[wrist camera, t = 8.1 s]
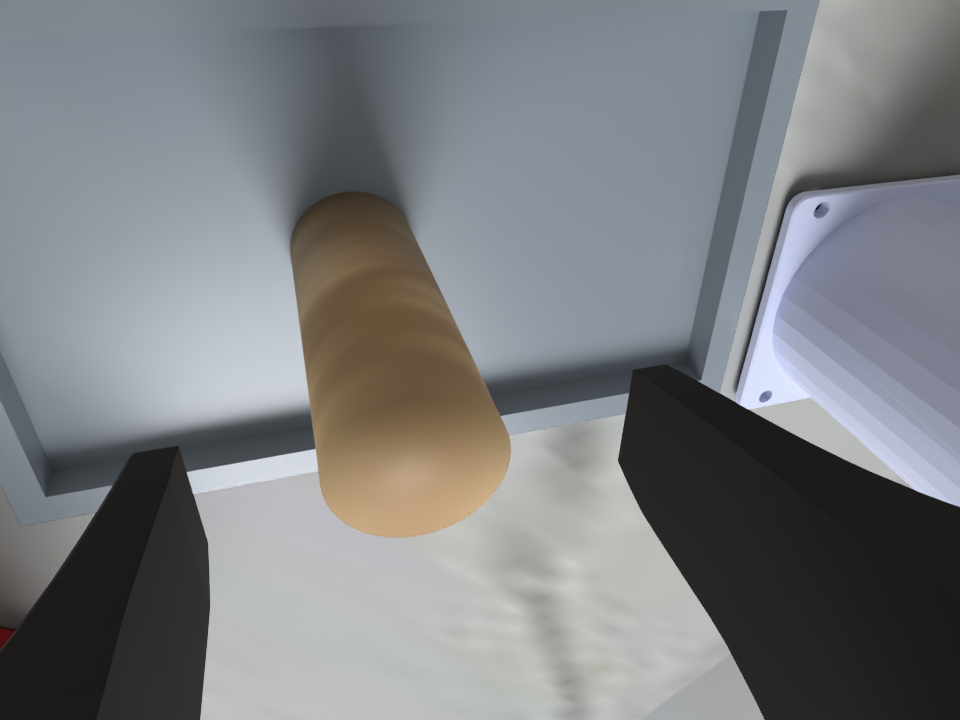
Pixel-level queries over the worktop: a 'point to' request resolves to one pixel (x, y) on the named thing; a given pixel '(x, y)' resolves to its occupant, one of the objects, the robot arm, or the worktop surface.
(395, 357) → the dowel pin
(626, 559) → the worktop surface
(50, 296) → the tray
